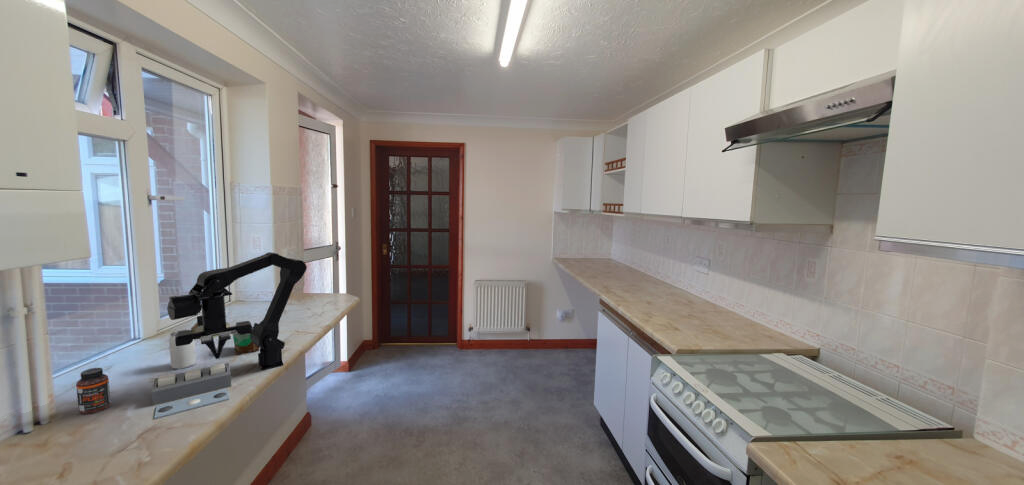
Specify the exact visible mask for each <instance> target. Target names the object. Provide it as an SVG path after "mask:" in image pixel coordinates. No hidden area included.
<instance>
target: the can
mask: <svg viewBox="0 0 1024 485" xmlns="http://www.w3.org/2000/svg"><path fill="white" fill-rule="evenodd" d="M188 330H189V329H183V330H182V329H181V330H176V331H173V332H171V333H170V334H169V335H170V336H169V339H168V344H169V354H170V355H169V356H170V365H171V369H174V370H182V369H187V368H191V367H192V366H194V365H195V364H196V363H197V360H196V358H197V357H196V348H195V346H196V345H195V344H196V343H195V339H193V341H192V342H191V343H190V344H188V345H182V346H176V343H175V337H176V334H177V333H178V332H182V331H188Z"/></svg>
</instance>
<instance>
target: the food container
mask: <svg viewBox="0 0 1024 485" xmlns="http://www.w3.org/2000/svg"><path fill="white" fill-rule="evenodd" d="M233 326H236V323H234V324H232V326H231V327H233ZM252 330H253V326H252ZM230 335H232V338H233V344H234V351H235V353H236V354H238V355H245V354H246V355H248V354H252V353H253V354H254V353H257V352H260V348H259V347H257V345H256V344H254V343H252V341H251V339H250V337H251V334H250V333H249V334H243V335H240V334H238V332H233V333H231V334H230Z"/></svg>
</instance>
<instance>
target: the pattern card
mask: <svg viewBox="0 0 1024 485" xmlns="http://www.w3.org/2000/svg"><path fill="white" fill-rule="evenodd" d="M229 400H230V395H229V388H223V389H219V390H215V391H211V392H207V393H203V394H199V395H195V396H191V397H187V398H182V399H178V400H174V401H173V402H172V401H170V402H166V403H162V404H160V405H159V404H158V405H157V406H156V408H155V413H154V416H153V419H154V420H156V419H160V418H164V417H168V416H172V415H176V414H180V413H183V412H188V411H191V410H195V409H199V408H202V407H206V406H210V405H214V404H217V403H222V402H225V401H229Z"/></svg>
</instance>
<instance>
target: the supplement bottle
mask: <svg viewBox="0 0 1024 485" xmlns="http://www.w3.org/2000/svg"><path fill="white" fill-rule="evenodd" d="M109 382H110V381H109V375H107V374H105V373H104V372H103V368H102V367H93V368H89V369H86V370H83V371H81V372H80V379H79V380H78V381H76V384H75V385H76V387H75V388H76V396H77V398H76V399H77V406H78V407H77V408H78V412H79V414H81V415H89V414H95V413H98V412H100V411H103V410H105V409H107V408H108V407H110V405H111V402H112V401H111V392H110V391H111V390H110V383H109Z"/></svg>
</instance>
